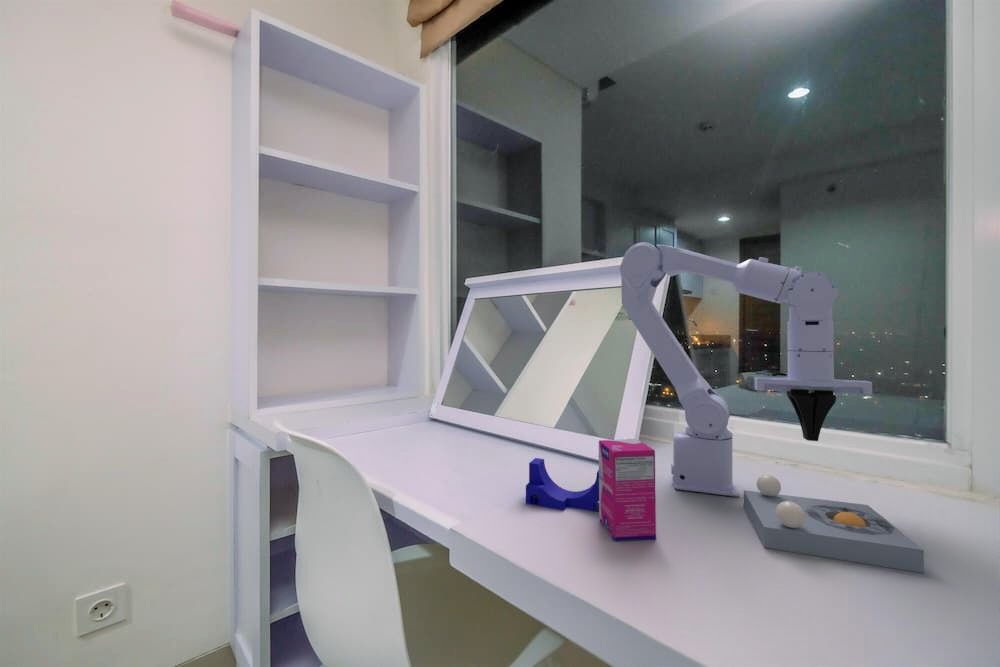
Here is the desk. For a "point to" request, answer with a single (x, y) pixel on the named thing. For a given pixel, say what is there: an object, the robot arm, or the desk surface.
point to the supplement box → (627, 489)
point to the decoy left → (768, 485)
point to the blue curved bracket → (558, 491)
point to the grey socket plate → (833, 532)
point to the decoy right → (790, 514)
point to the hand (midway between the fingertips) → (810, 439)
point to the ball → (849, 519)
